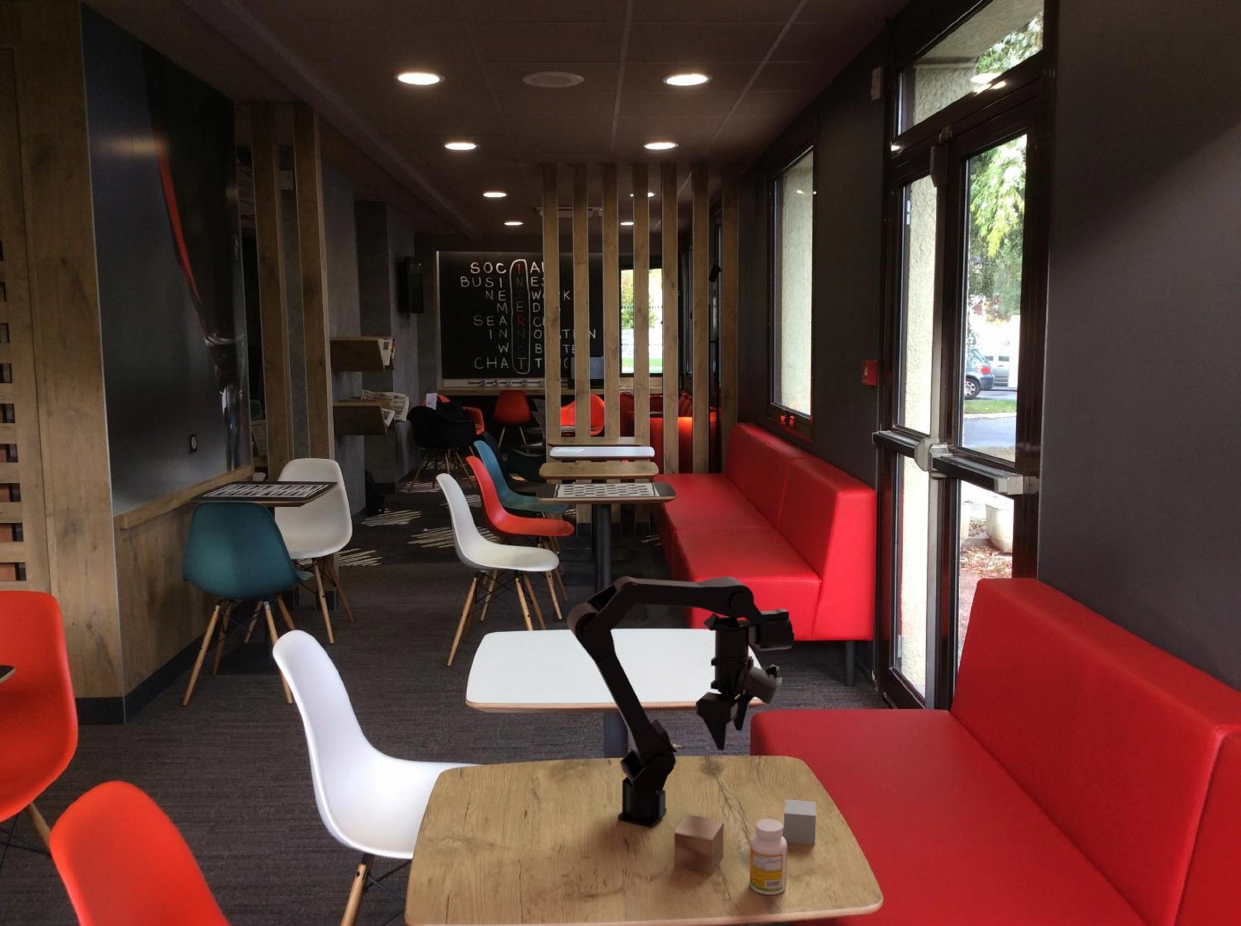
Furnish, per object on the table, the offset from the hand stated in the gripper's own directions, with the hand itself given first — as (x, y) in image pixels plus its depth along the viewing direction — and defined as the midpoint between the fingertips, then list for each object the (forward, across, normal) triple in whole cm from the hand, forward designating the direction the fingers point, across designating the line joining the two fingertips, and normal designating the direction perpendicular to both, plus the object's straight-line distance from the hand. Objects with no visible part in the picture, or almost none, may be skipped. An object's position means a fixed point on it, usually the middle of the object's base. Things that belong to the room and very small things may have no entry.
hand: (730, 739), depth 179 cm
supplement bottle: (+12, -22, -14) cm, 29 cm away
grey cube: (+12, -5, -14) cm, 19 cm away
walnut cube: (+6, -20, -2) cm, 21 cm away
